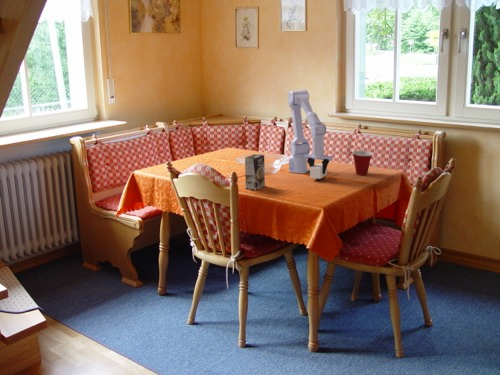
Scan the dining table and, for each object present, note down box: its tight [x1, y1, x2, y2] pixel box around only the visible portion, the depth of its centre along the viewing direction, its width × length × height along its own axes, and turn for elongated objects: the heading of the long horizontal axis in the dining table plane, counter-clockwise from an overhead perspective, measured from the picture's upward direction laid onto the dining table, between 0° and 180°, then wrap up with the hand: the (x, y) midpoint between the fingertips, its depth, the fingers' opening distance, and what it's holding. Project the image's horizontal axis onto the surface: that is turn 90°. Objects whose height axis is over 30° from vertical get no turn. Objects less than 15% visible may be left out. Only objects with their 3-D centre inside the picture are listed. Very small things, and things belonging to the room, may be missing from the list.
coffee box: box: [244, 153, 266, 191], centre depth 311 cm, size 9×6×16 cm
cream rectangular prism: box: [309, 163, 328, 180], centre depth 323 cm, size 6×10×5 cm, turn 153°
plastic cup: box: [351, 150, 374, 176], centre depth 330 cm, size 11×11×12 cm
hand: (318, 173), depth 323 cm, fingers closed on cream rectangular prism, 6 cm apart
